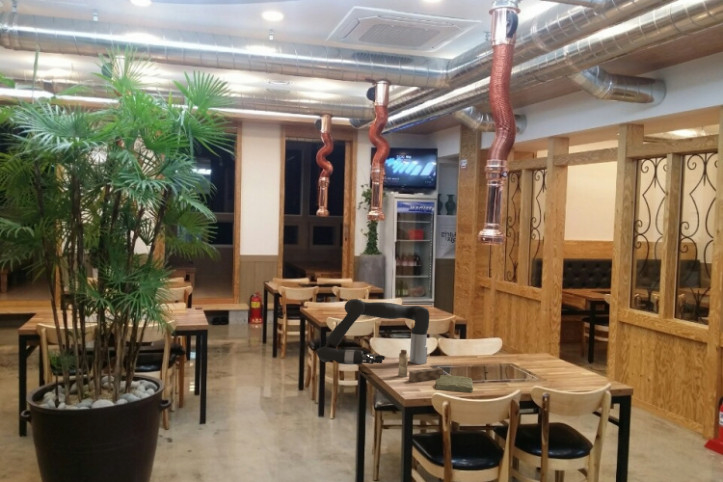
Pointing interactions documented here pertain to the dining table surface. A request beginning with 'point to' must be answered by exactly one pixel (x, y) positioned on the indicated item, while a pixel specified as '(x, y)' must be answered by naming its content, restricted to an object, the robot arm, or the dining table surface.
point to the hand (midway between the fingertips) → (383, 359)
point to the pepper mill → (403, 363)
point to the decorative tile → (454, 383)
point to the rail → (425, 374)
